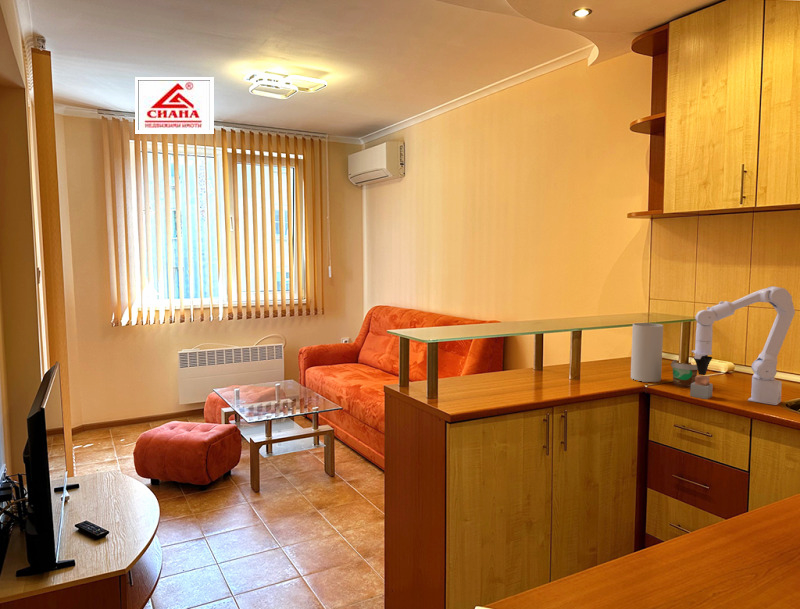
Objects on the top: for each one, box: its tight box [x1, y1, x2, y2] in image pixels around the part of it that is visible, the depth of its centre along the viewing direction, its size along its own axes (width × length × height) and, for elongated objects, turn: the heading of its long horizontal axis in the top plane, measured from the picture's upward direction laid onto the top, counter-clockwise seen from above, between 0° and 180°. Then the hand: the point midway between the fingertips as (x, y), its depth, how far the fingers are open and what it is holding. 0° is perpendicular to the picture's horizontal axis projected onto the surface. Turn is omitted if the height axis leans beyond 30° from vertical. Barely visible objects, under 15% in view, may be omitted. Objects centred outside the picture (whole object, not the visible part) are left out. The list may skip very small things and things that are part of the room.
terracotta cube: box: [695, 374, 710, 386], centre depth 220 cm, size 4×4×4 cm
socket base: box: [689, 382, 713, 400], centre depth 220 cm, size 6×6×5 cm
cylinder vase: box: [630, 322, 664, 383], centre depth 248 cm, size 12×12×25 cm
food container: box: [670, 359, 698, 389], centre depth 238 cm, size 12×6×10 cm, turn 21°
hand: (702, 374), depth 220 cm, fingers closed
